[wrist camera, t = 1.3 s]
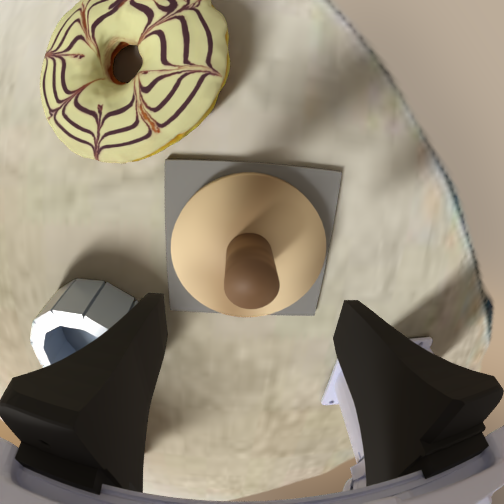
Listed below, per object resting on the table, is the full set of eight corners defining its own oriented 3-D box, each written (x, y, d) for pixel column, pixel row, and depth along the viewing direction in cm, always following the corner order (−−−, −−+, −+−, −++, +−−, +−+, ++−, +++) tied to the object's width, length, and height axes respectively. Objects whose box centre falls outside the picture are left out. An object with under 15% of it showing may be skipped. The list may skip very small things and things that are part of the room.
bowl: (151, 284, 19) (135, 321, 16) (164, 376, 23) (156, 413, 19) (41, 274, 18) (14, 303, 15) (70, 361, 22) (55, 392, 19)
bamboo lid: (332, 179, 16) (362, 200, 12) (309, 309, 20) (324, 354, 16) (173, 168, 16) (151, 187, 12) (177, 304, 19) (164, 350, 15)
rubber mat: (339, 171, 17) (341, 172, 16) (313, 312, 21) (314, 315, 20) (166, 159, 16) (164, 160, 15) (171, 306, 20) (170, 310, 20)
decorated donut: (175, -35, 11) (163, -64, 7) (264, 93, 15) (273, 85, 11) (41, 63, 12) (7, 57, 9) (114, 187, 16) (87, 205, 13)
